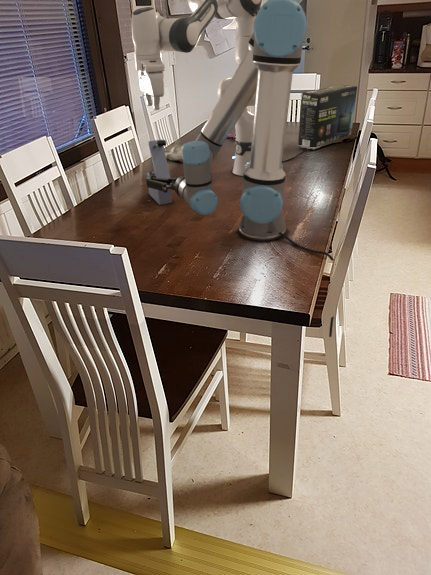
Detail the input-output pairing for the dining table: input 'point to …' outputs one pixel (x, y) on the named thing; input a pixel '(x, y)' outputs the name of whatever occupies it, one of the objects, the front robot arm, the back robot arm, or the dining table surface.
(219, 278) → the dining table surface
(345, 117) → the router box
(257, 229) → the front robot arm
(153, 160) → the grey long flat panel
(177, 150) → the fossil
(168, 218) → the dining table surface
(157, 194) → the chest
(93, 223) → the dining table surface
